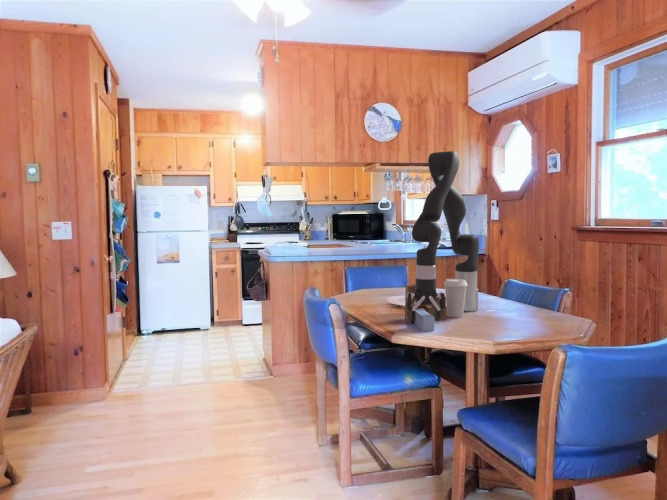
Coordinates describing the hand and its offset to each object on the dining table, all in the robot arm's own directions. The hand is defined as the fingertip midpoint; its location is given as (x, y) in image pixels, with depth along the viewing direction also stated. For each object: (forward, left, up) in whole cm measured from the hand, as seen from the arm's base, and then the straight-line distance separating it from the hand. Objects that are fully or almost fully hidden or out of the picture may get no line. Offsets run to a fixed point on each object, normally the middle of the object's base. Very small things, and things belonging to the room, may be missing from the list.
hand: (425, 320), depth 185 cm
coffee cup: (-18, -20, -3) cm, 27 cm away
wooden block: (-3, -12, -3) cm, 13 cm away
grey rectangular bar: (0, -3, -3) cm, 4 cm away
